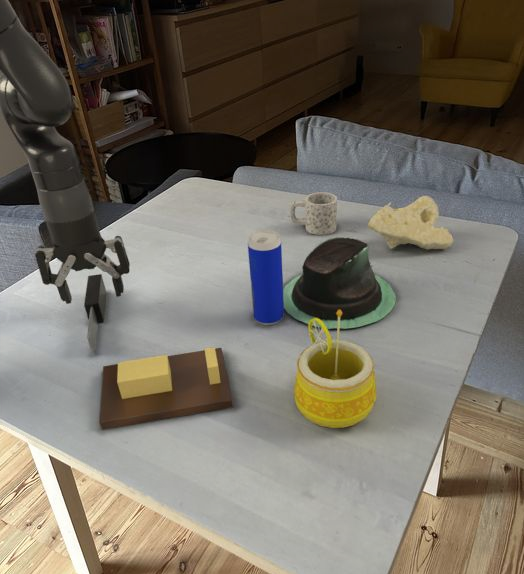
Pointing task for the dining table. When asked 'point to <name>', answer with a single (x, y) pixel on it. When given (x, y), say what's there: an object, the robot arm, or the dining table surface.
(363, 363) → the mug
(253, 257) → the beverage can
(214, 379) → the butter slice
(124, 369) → the butter block
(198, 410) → the board
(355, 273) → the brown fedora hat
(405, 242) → the cheese
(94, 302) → the knife
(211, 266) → the dining table surface
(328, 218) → the mug
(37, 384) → the dining table surface
